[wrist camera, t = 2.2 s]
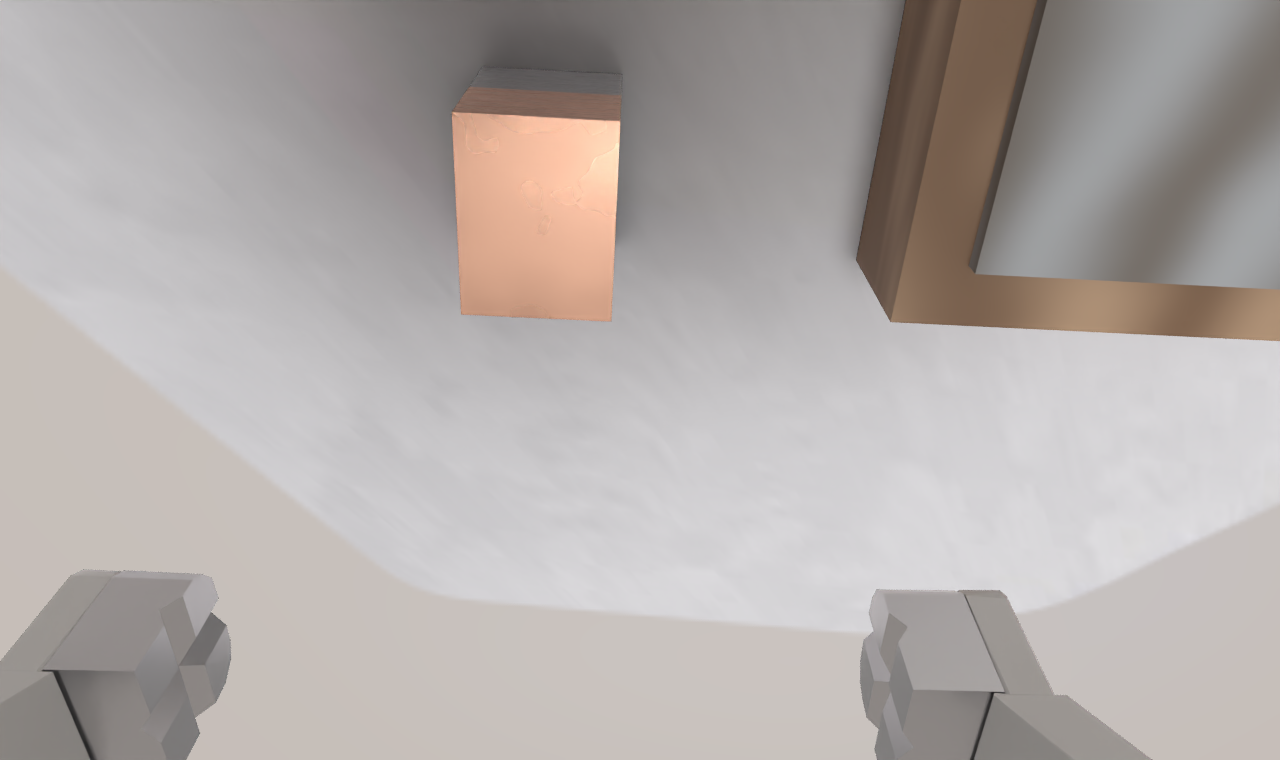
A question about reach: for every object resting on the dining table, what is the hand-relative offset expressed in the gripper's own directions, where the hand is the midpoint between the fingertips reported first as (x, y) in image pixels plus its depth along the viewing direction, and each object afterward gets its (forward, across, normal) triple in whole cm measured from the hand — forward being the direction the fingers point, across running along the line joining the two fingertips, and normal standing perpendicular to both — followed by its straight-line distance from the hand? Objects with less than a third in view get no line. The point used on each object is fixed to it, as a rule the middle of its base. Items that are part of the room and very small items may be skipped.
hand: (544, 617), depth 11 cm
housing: (+22, +2, +1) cm, 22 cm away
